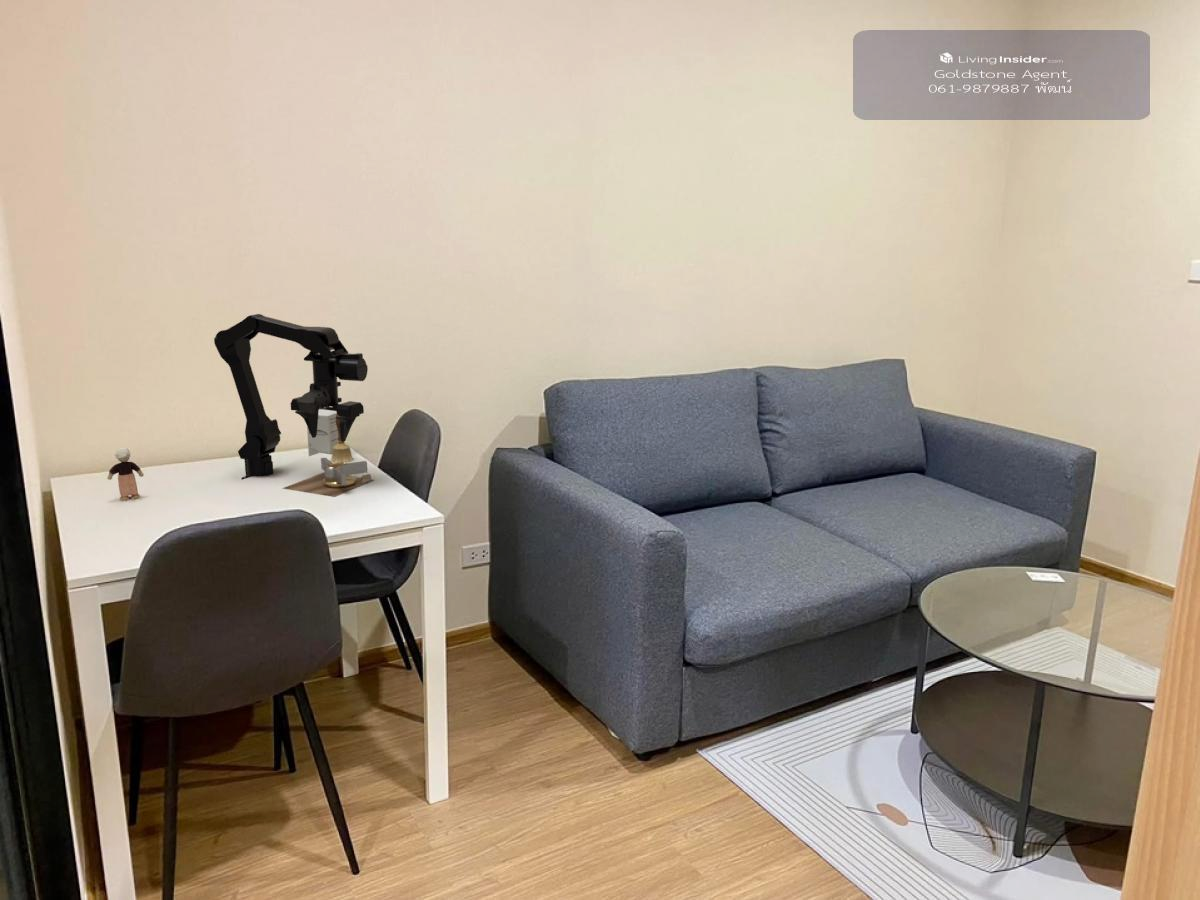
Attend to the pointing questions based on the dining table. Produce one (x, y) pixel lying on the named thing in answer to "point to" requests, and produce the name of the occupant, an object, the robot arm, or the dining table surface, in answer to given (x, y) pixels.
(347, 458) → the hand bell
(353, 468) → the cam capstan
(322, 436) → the supplement box
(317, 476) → the stand
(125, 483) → the grandmother figurine
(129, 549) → the dining table surface
